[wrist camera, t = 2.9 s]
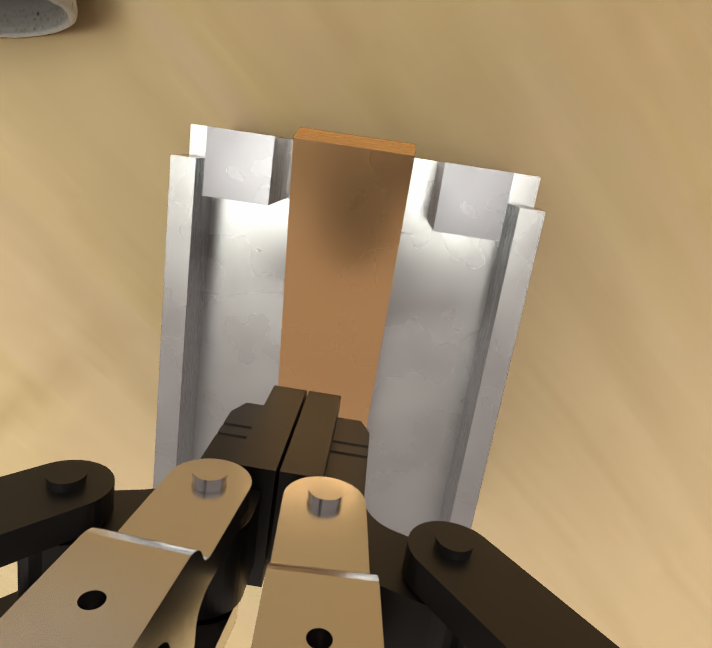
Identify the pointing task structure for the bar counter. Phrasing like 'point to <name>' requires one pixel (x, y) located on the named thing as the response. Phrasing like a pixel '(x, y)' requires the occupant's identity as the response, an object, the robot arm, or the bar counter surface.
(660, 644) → the bar counter surface
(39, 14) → the ceramic mug
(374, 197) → the strap
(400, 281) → the block
